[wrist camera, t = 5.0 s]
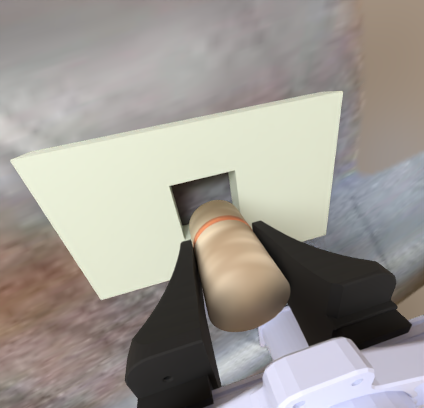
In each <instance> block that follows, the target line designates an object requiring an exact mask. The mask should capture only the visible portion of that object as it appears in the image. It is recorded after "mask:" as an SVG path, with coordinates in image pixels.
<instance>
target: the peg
mask: <svg viewBox="0 0 424 408" xmlns="http://www.w3.org/2000/svg"><path fill="white" fill-rule="evenodd" d="M189 230H190V235H191V239H192V244H193V248H194V253H195V257H196V262H197V266H198V271H199V275H200V280H201V284H202V289H203V293H204V298H205V302H206V307H207V311H208V316H209V319H210V321H211V322H212V324H213V325H214V326H216V327H217V328H219V329H221V330H224V331H229V332H241V331H247V330H251V329H254V328H257V327H259V326H261V325H263V324H265V323H267V322H269V321H270V320H272V319H273V318H274V317H276V316H277V315H278V314H279V313H280V312H281V311H282V309H283V308H284V307H285V305H286V304H287V302H288V300H289V297H290V285H289V283H288V281H287V279H286V278H285V277H284V275H283V274H282V272H281V271H280V269H279V268H278V267H277V265H276V264H275V262H274V261H273V259H272V258H271V256H270V255H269V254H268V252H267V251H266V249H265V248H264V246H263V245H262V244H261V242H260V241H259V239H258V238H257V236H256V235H255V233H254V232H253V230H252V229H251V227H250V226H249V224H248V223H247V222H246V221H245V219H244V218H243V216H242V215H241V213H240V212H239V210H238V209H237V208H236V207H235V206H234V205H233V204H232V203H230V202H227V201H223V200H214V201H210V202H207V203H205V204H203V205H201V206H200V207H199V208H197V209H196V210H195V212H194V213H193V215H192V216H191V219H190V222H189Z"/></svg>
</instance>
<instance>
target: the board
mask: <svg viewBox="0 0 424 408" xmlns="http://www.w3.org/2000/svg"><path fill="white" fill-rule="evenodd" d="M342 96H343V91H331V92H318V93H314V94H309V95H304V96H299V97H294V98H289V99H284V100H279V101H275V102H270V103H265V104H260V105H255V106H250V107H245V108H241V109H236V110H231V111H226V112H221V113H216V114H211V115H207V116H202V117H197V118H192V119H187V120H182V121H177V122H172V123H168V124H163V125H158V126H153V127H148V128H143V129H138V130H134V131H129V132H124V133H119V134H114V135H109V136H104V137H100V138H95V139H90V140H85V141H80V142H75V143H70V144H66V145H61V146H56V147H51V148H46V149H41V150H36V151H31V152H29V153H26V154H24V155H21V156H19V157H17V158H14V159H12V160H10V161H11V163H12V164H13V166H14V167H15V169H16V170H17V172H18V174H19V175H20V177H21V178H22V180H23V181H24V183H25V184H26V186H27V187H28V189H29V190H30V192H31V193H32V195H33V197H34V198H35V200H36V201H37V203H38V204H39V206H40V207H41V209H42V210H43V212H44V213H45V215H46V216H47V218H48V220H49V221H50V223H51V224H52V226H53V227H54V229H55V230H56V232H57V233H58V235H59V236H60V238H61V239H62V241H63V242H64V244H65V246H66V247H67V249H68V250H69V252H70V253H71V255H72V256H73V258H74V259H75V261H76V262H77V264H78V265H79V267H80V269H81V270H82V272H83V273H84V275H85V276H86V278H87V279H88V281H89V282H90V284H91V285H92V287H93V288H94V290H95V292H96V293H97V295H98V296H99V298H100V299H101V300H103V299H106V298H110V297H113V296H117V295H120V294H124V293H127V292H131V291H134V290H137V289H141V288H144V287H148V286H151V285H155V284H158V283H162V282H165V281H168V280H170V279H171V276H172V274H173V271H174V268H175V265H176V262H177V259H178V255H179V250H180V243H181V242H183V241H187V240H190V239H191V235H190V230H189V224H187V225H183V226H182V223H181V219H180V216H179V212H178V209H177V205H176V202H175V198H174V195H173V191H172V188H171V185H175V184H180V183H184V182H188V181H192V180H196V179H200V178H205V177H209V176H213V175H217V174H221V173H226V172H228V175H229V182H230V189H231V197H232V204H233V205H234V206H235V207H236V208H237V209H238V210H239V212H240V213H241V215H242V216H243V218H244V219H245V221H246V222H247V223H248V224H249V226H250V227H251V229H252V223H253V222H256V221H260V220H261V221H263V222H264V223H266V224H268V225H270V226H271V227H273V228H275V229H276V230H278V231H280V232H282V233H284V234H286V235H288V236H290V237H292V238H294V239H296V240H298V241H300V242H303V241H306V240H310V239H313V238H317V237H320V236H323V235H326V228H327V220H328V212H329V203H330V195H331V187H332V179H333V170H334V162H335V154H336V145H337V137H338V129H339V121H340V112H341V104H342ZM191 241H192V239H191ZM192 245H193V244H192Z"/></svg>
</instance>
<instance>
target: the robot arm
mask: <svg viewBox="0 0 424 408" xmlns="http://www.w3.org/2000/svg"><path fill="white" fill-rule="evenodd" d="M252 230H253V232H254V233H255V235H256V236H257V238H258V239H259V241H260V242H261V244H262V245H263V246H264V248H265V249H266V251H267V252H268V254H269V255H270V256H271V258H272V259H273V261H274V262H275V264H276V265H277V267H278V268H279V269H280V271H281V272H282V274H283V275H284V277H285V278H286V279H287V281H288V283H289V285H290V297H289V300H288V302H287V303H288V305H289V306H286V307H284V308H283V309H282V311H281V312H280V313H279V314H278V315H277V316H276V317H274V318H273V319H272V320H270V321H269V322H267V323H265V324H263V325H261V326H259V327H258V334H259V343H260V346H261V347H264V346H267V348H268V350H269V352H270V355H271V357H272V359H273V361H272V362H271V363H270V364H269V365H268V366H267V367H266V368H265V371H264V372H262V373H259V374H257V375H254V376H251V377H248V378H246V379H243V380H240V381H237V382H234V383H232V384H229V385H226V386H223V387H221V382H220V378H219V373H218V369H217V365H216V360H215V356H214V351H213V347H212V342H211V338H210V333H209V328H208V324H207V319H206V314H205V307H204V299H203V291H202V284H201V280H200V275H199V271H198V266H197V262H196V257H195V253H194V248H193V245H192V241H191V239H190V240H187V241H183V242H181V243H180V250H179V255H178V259H177V262H176V265H175V268H174V271H173V274H172V276H171V279H170V281H169V284H168V286H167V288H166V290H165V292H164V294H163V296H162V297H161V299H160V301H159V303H158V305H157V306H156V308H155V309H154V311H153V312H152V314H151V315H150V317H149V318H148V320H147V321H146V323H145V324H144V325H143V326H142V328H141V329H140V330H139V332H138V333H137V334H136V335H135V337H134V338H133V339H132V342H131V346H130V349H129V354H128V358H127V365H126V374H125V382H126V384H127V386H128V387H129V388H130V389H131V391H132V392H133V393H134V394H135V396H136V397H137V398H138V404H137V408H424V315H421V316H419V317H416V318H413V319H410V320H407V319H406V318H405V317H403V316H402V315H401V314H400V313H399V312H398V311H397V310H396V309H397V305H396V304H395V303H393V302H392V301H391V300H390V299H391V297H392V294H393V292H394V289H395V285H396V278H395V276H394V275H393V274H392V273H391V272H389V271H388V270H387V269H385V268H384V267H383V266H381V265H380V264H379V263H377V262H376V261H370V260H364V259H358V258H352V257H348V256H343V255H339V254H335V253H332V252H328V251H325V250H322V249H319V248H316V247H313V246H310V245H308V244H305V243H303V242H300V241H298V240H296V239H294V238H292V237H290V236H288V235H286V234H284V233H282V232H280V231H278V230H276V229H275V228H273V227H271V226H270V225H268V224H266V223H264V222H263V221H261V220H260V221H256V222H253V223H252Z"/></svg>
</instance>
